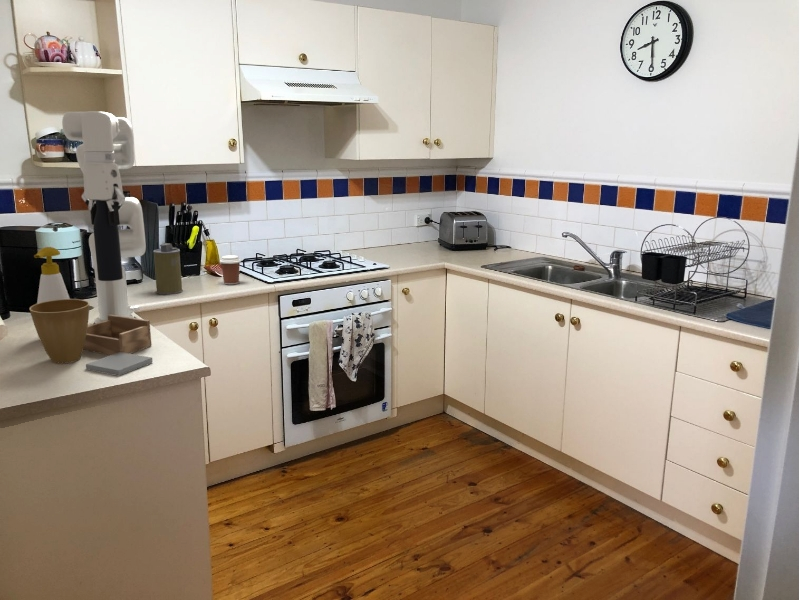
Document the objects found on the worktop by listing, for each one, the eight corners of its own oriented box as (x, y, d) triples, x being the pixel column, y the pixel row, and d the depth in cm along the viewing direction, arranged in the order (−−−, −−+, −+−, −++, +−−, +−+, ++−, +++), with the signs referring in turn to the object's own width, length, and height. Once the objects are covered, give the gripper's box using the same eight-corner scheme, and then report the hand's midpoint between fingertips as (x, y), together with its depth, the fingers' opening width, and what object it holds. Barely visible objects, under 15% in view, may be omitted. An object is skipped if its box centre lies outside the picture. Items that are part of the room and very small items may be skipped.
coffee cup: (231, 286, 285) (229, 258, 283) (216, 283, 290) (214, 256, 287) (246, 282, 293) (245, 256, 290) (231, 280, 298) (230, 254, 295)
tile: (120, 356, 190) (120, 351, 189) (152, 362, 185) (152, 357, 185) (86, 369, 179) (85, 364, 179) (119, 375, 174) (118, 370, 174)
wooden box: (112, 339, 207) (110, 314, 205) (151, 345, 200) (149, 320, 199) (80, 349, 196) (77, 323, 194) (120, 356, 190) (118, 330, 188)
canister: (171, 295, 267) (168, 246, 263) (150, 293, 271) (146, 244, 266) (188, 290, 277) (185, 242, 273) (168, 288, 281) (164, 241, 276)
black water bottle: (114, 281, 183) (104, 171, 177) (93, 280, 184) (82, 171, 178) (127, 277, 189) (118, 171, 183) (107, 276, 191) (97, 170, 184)
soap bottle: (26, 344, 201) (14, 249, 194) (45, 334, 211) (35, 244, 204) (67, 345, 200) (57, 250, 193) (85, 335, 210) (75, 245, 204)
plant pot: (28, 359, 187) (22, 304, 183) (83, 348, 197) (78, 296, 193) (46, 372, 177) (39, 314, 173) (102, 360, 187) (97, 305, 183)
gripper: (133, 158, 180) (139, 225, 184) (88, 158, 186) (94, 222, 190) (112, 159, 173) (118, 227, 177) (65, 158, 180) (72, 224, 184)
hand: (105, 224), depth 184 cm, fingers closed on black water bottle, 5 cm apart
